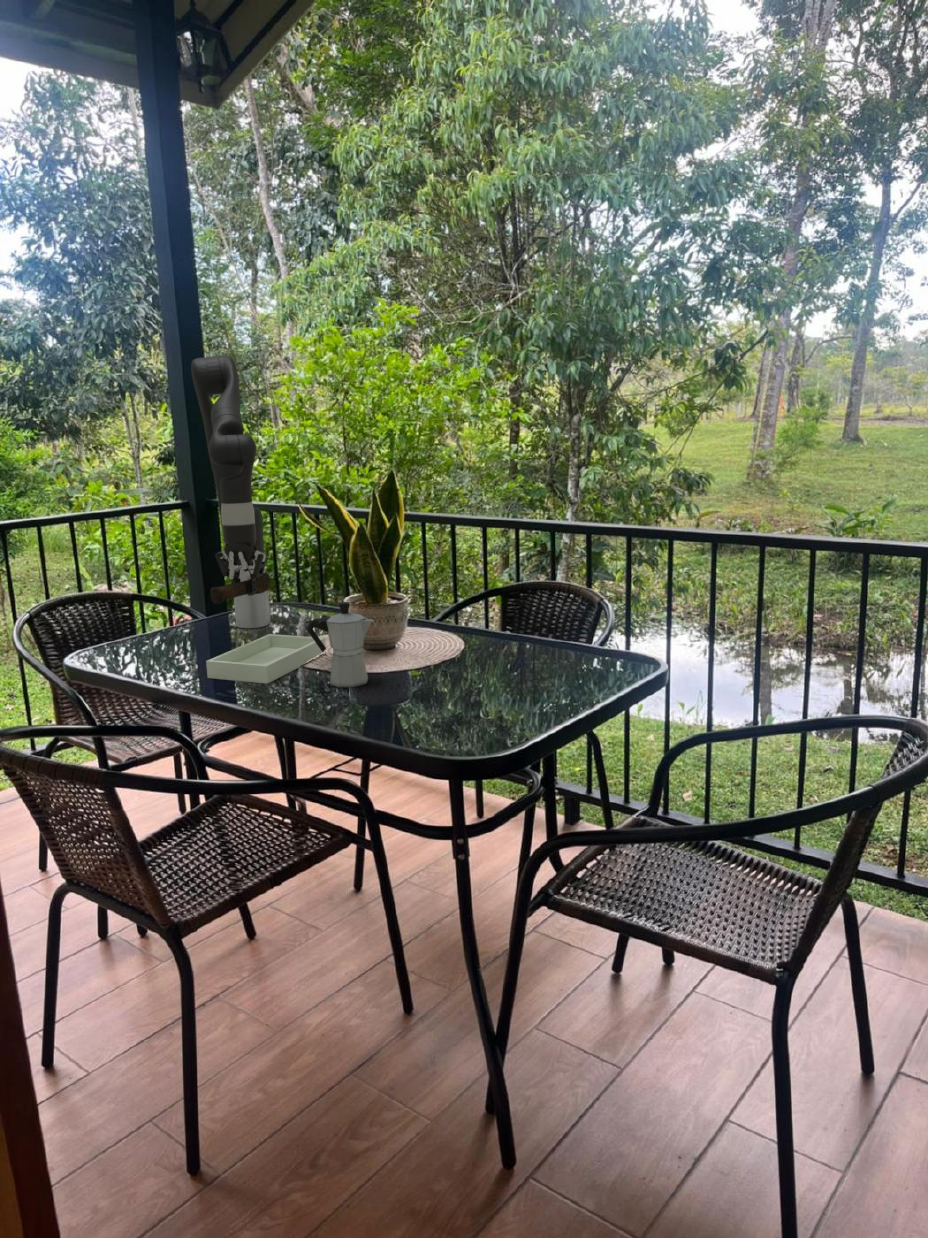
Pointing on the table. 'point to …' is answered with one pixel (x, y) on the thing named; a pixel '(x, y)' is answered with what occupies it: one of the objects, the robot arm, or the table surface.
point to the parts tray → (264, 658)
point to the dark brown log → (239, 589)
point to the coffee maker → (344, 645)
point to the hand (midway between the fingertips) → (244, 594)
